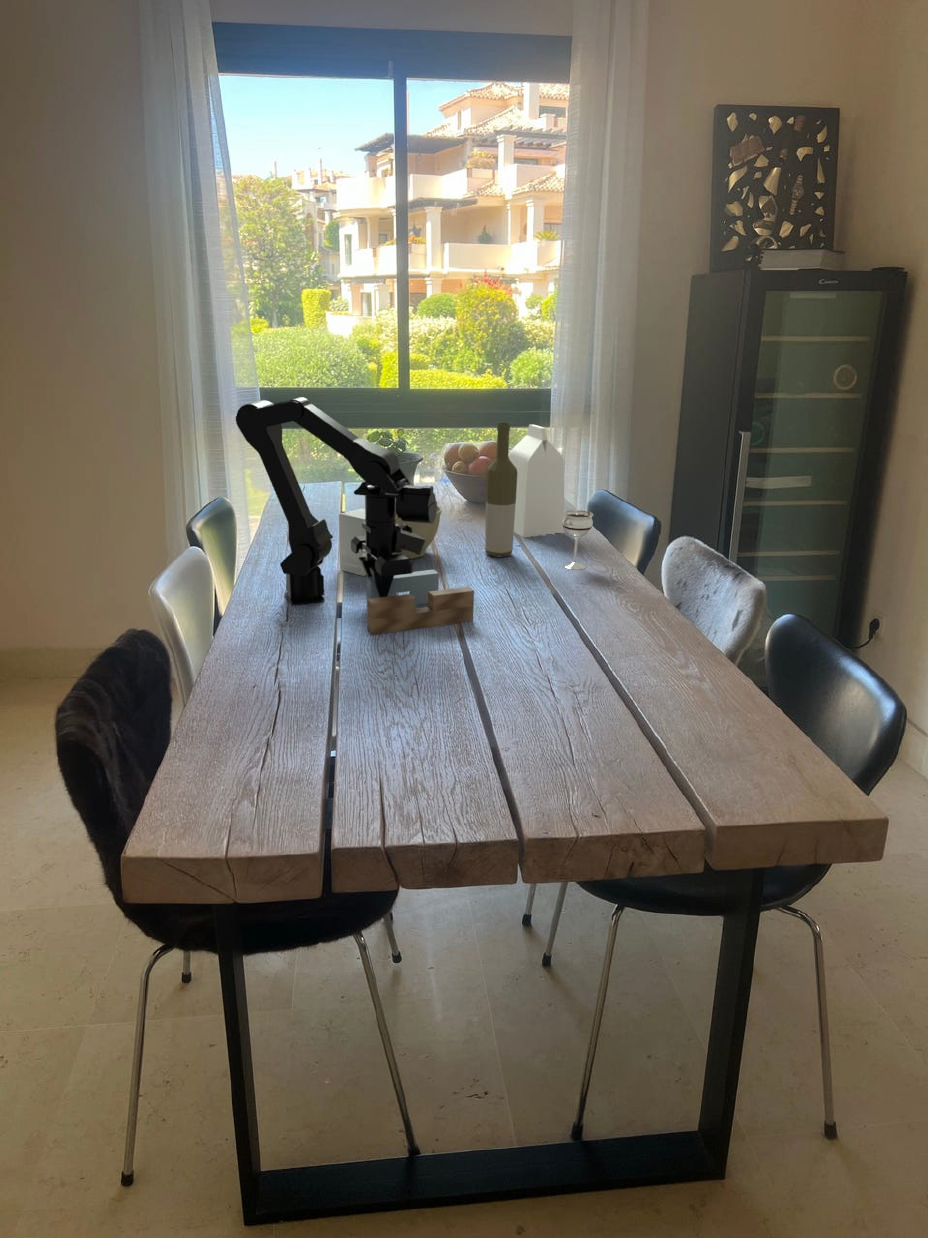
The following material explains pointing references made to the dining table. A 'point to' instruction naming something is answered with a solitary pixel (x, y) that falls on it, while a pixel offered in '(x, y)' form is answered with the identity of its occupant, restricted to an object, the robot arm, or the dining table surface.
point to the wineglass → (577, 530)
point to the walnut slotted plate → (420, 611)
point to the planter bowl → (421, 533)
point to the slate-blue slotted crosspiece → (409, 585)
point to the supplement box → (347, 531)
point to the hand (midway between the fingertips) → (381, 597)
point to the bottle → (500, 498)
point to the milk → (538, 485)
